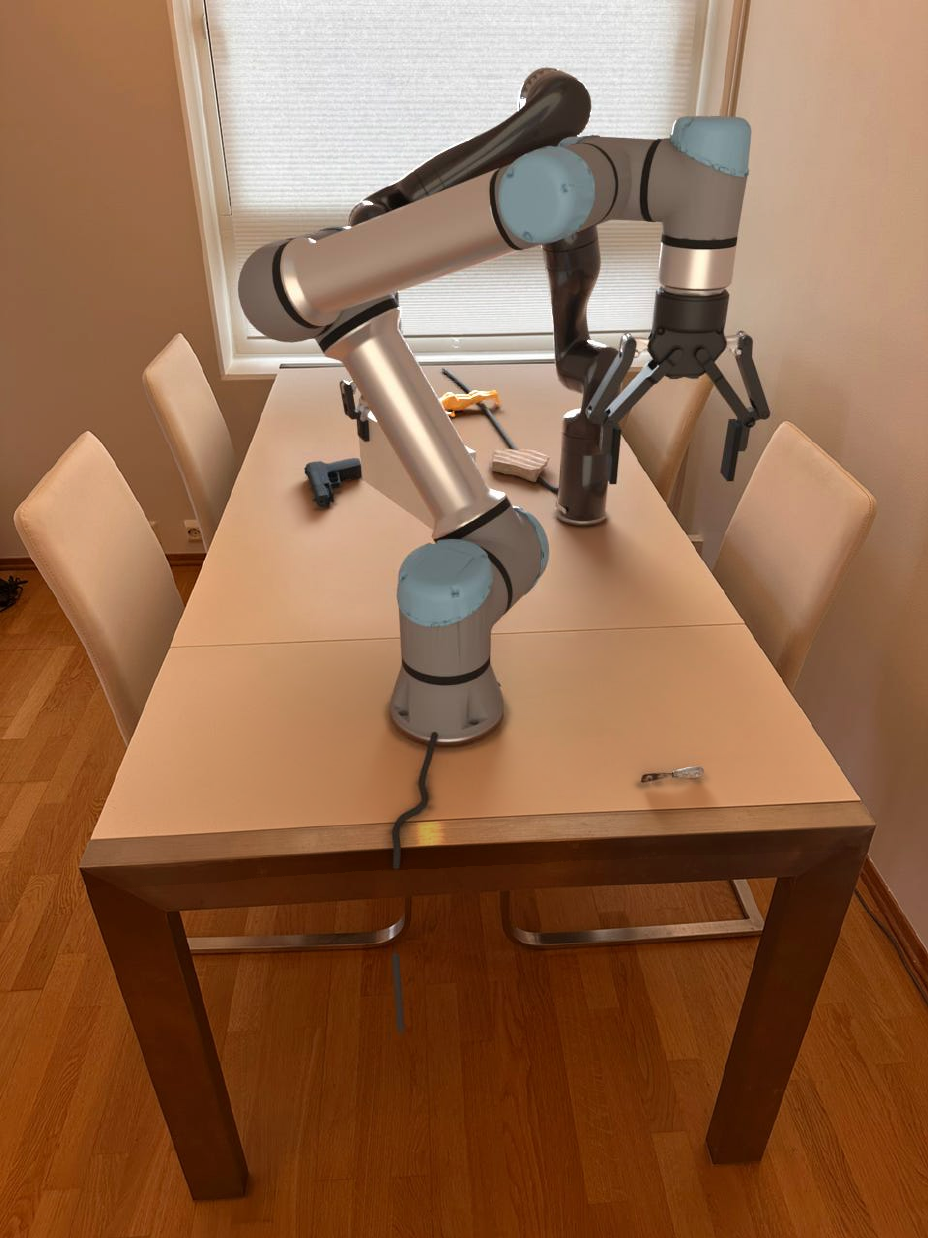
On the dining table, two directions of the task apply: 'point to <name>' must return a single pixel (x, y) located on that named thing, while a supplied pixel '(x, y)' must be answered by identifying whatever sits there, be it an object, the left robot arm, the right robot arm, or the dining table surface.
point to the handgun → (330, 477)
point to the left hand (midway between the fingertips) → (669, 478)
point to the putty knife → (674, 774)
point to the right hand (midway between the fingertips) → (384, 436)
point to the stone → (519, 462)
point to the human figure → (466, 400)
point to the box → (392, 473)
